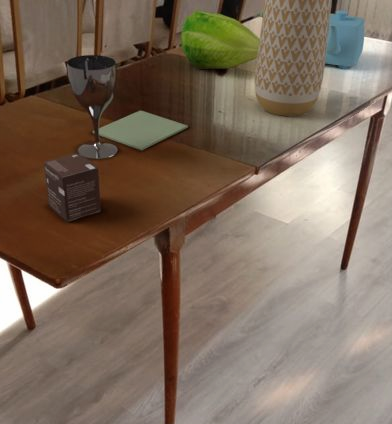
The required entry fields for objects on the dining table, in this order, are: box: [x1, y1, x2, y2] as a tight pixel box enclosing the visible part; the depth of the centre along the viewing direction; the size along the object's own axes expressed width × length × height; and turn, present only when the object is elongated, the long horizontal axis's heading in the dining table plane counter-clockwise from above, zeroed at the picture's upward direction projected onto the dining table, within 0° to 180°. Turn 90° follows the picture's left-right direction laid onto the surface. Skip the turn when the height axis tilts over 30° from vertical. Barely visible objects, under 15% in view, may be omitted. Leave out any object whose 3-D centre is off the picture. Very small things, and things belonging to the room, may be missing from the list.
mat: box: [92, 110, 189, 151], centre depth 120 cm, size 14×12×1 cm
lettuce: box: [180, 9, 260, 70], centre depth 145 cm, size 14×20×12 cm
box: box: [42, 152, 102, 223], centre depth 94 cm, size 6×6×7 cm
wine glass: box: [66, 54, 119, 160], centre depth 108 cm, size 8×8×15 cm
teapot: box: [325, 9, 365, 69], centre depth 151 cm, size 12×18×12 cm
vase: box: [254, 0, 333, 117], centre depth 122 cm, size 14×14×31 cm
